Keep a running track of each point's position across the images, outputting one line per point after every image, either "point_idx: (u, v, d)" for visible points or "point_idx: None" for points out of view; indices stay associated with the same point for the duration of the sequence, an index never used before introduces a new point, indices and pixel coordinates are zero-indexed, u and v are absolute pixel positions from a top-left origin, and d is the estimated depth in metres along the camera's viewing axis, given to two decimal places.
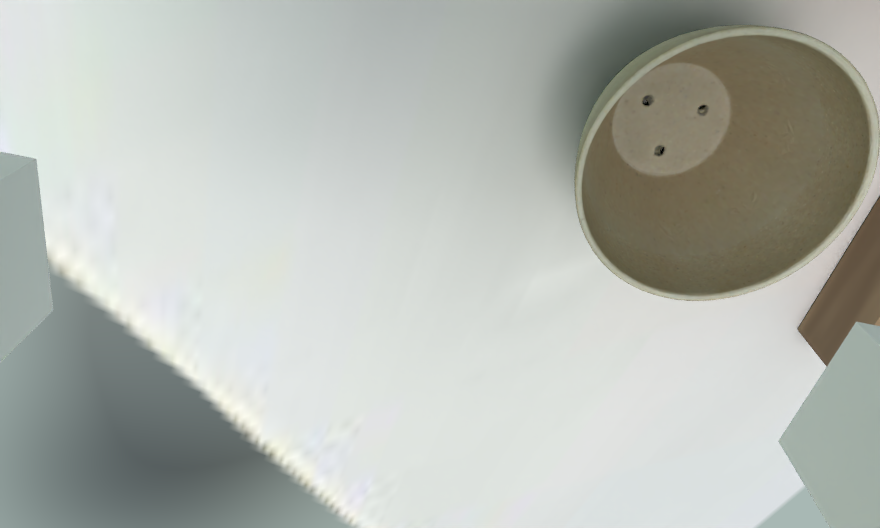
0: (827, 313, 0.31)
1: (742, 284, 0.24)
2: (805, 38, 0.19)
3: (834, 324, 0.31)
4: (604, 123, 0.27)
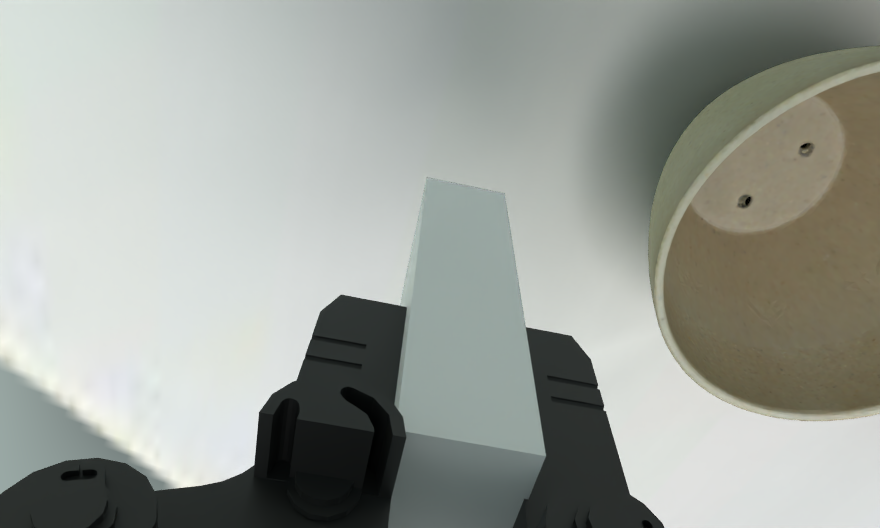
0: None
1: (878, 399, 0.17)
2: None
3: None
4: None
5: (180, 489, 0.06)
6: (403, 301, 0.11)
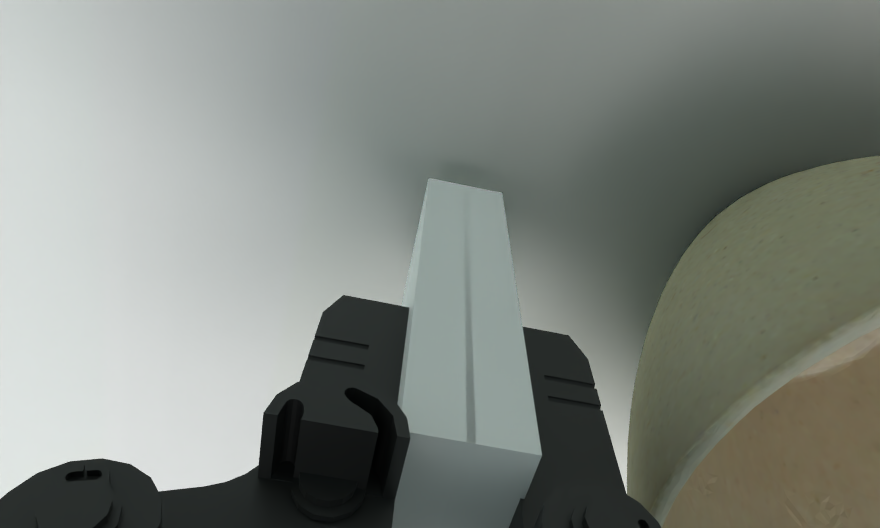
0: None
1: None
2: None
3: None
4: None
5: (184, 489, 0.06)
6: (405, 301, 0.11)
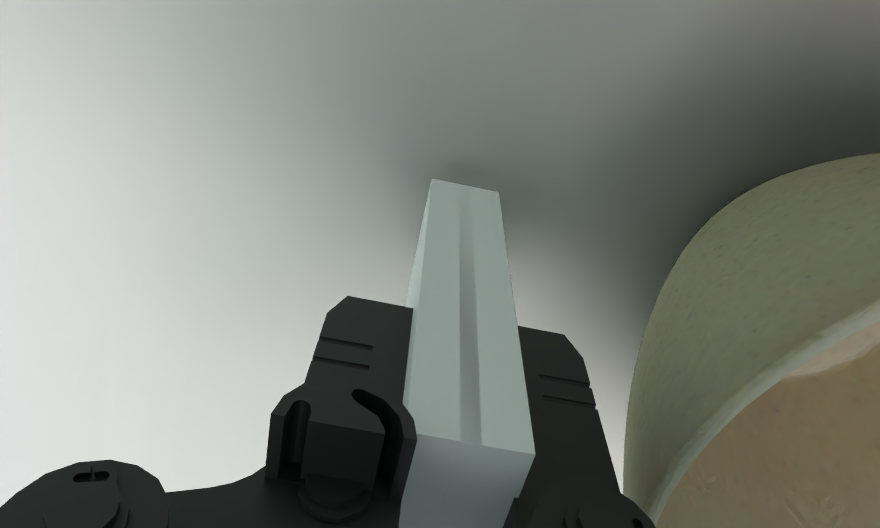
0: None
1: None
2: None
3: None
4: None
5: (190, 490, 0.06)
6: (408, 302, 0.11)
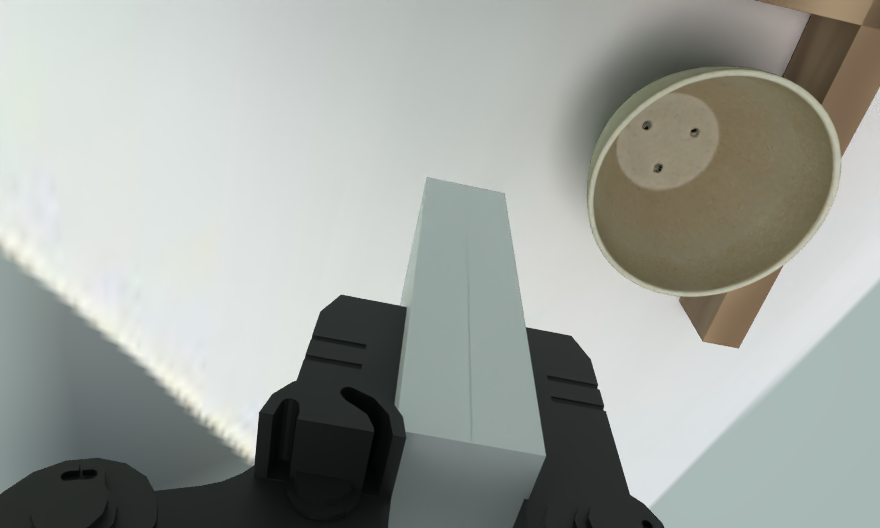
0: None
1: (731, 282, 0.28)
2: (775, 78, 0.24)
3: None
4: (610, 145, 0.31)
5: (180, 489, 0.06)
6: (403, 301, 0.11)
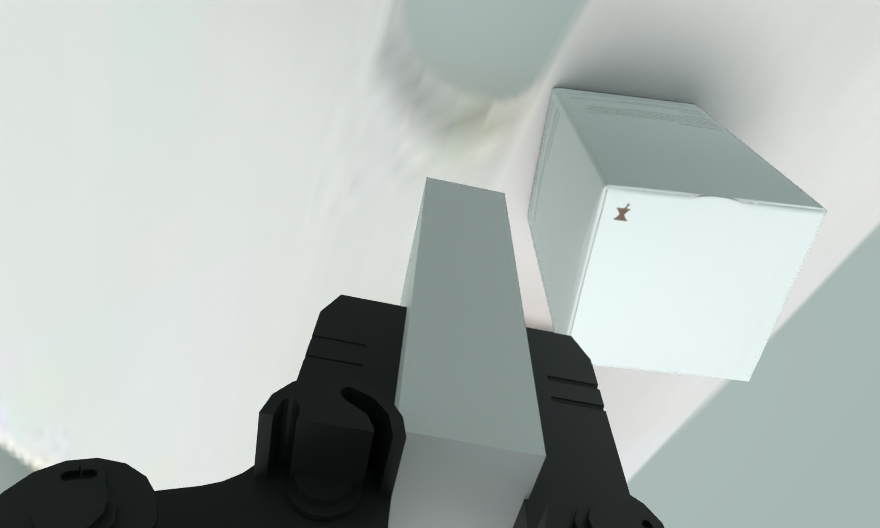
0: None
1: None
2: None
3: None
4: None
5: (180, 489, 0.06)
6: (403, 301, 0.11)
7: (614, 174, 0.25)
